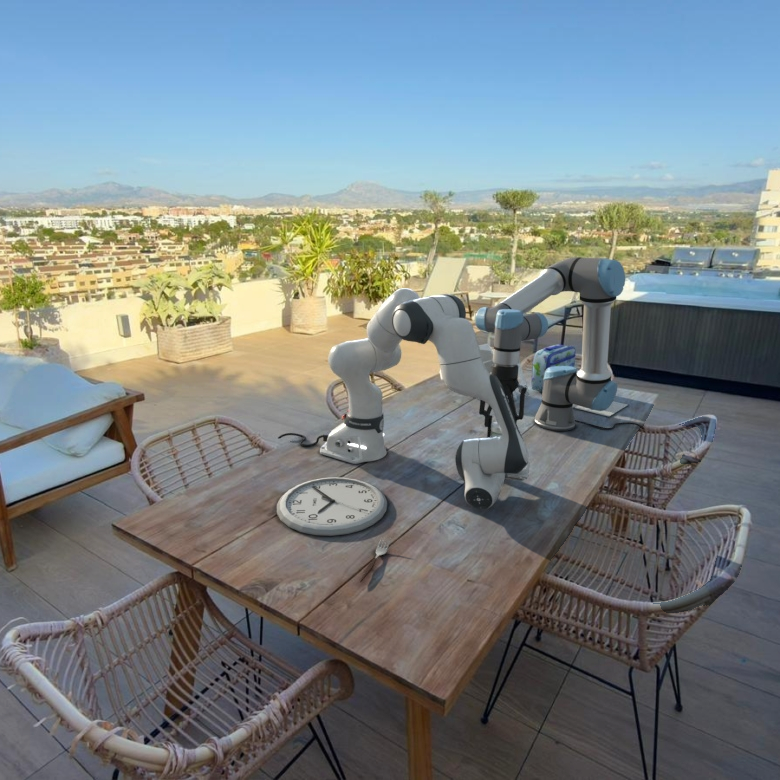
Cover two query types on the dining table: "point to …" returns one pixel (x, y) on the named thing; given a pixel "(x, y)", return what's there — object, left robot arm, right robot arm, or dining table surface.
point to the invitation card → (609, 411)
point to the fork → (379, 552)
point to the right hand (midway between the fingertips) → (499, 438)
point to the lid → (495, 427)
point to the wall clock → (331, 506)
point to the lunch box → (550, 362)
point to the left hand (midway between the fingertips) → (498, 454)
